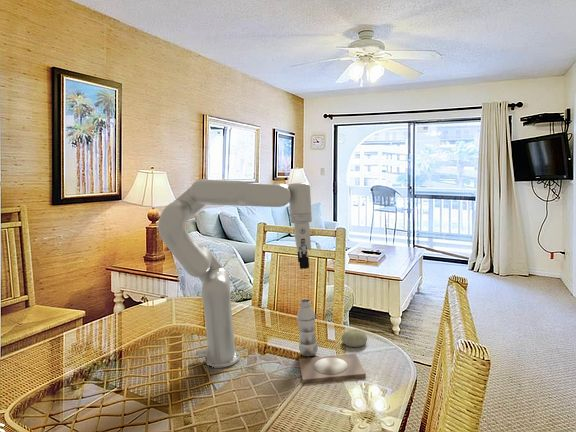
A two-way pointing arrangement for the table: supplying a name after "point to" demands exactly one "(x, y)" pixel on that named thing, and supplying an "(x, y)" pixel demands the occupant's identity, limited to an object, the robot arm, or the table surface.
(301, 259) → the robot arm
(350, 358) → the walnut board
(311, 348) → the plastic bottle
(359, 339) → the sea urchin shell
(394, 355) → the table surface
